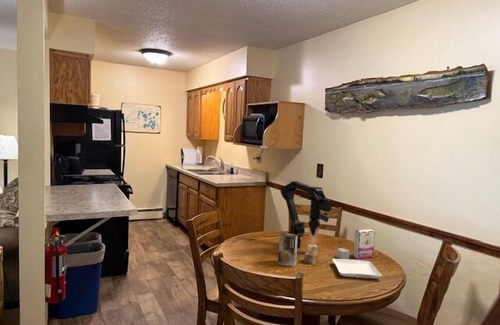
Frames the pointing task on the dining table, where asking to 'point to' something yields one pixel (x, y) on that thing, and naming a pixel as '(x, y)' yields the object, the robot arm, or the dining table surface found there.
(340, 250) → the light gray block
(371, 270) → the salad plate
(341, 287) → the dining table surface
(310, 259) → the walnut block
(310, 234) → the terracotta block
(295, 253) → the coffee box
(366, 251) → the candy bar box
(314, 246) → the maple block
